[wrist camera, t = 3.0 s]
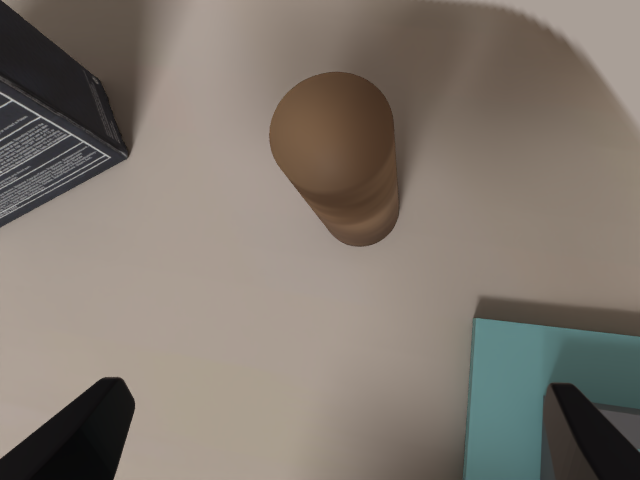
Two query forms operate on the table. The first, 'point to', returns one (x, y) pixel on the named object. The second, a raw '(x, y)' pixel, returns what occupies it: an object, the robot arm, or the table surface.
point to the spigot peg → (340, 154)
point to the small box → (48, 120)
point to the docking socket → (540, 392)
